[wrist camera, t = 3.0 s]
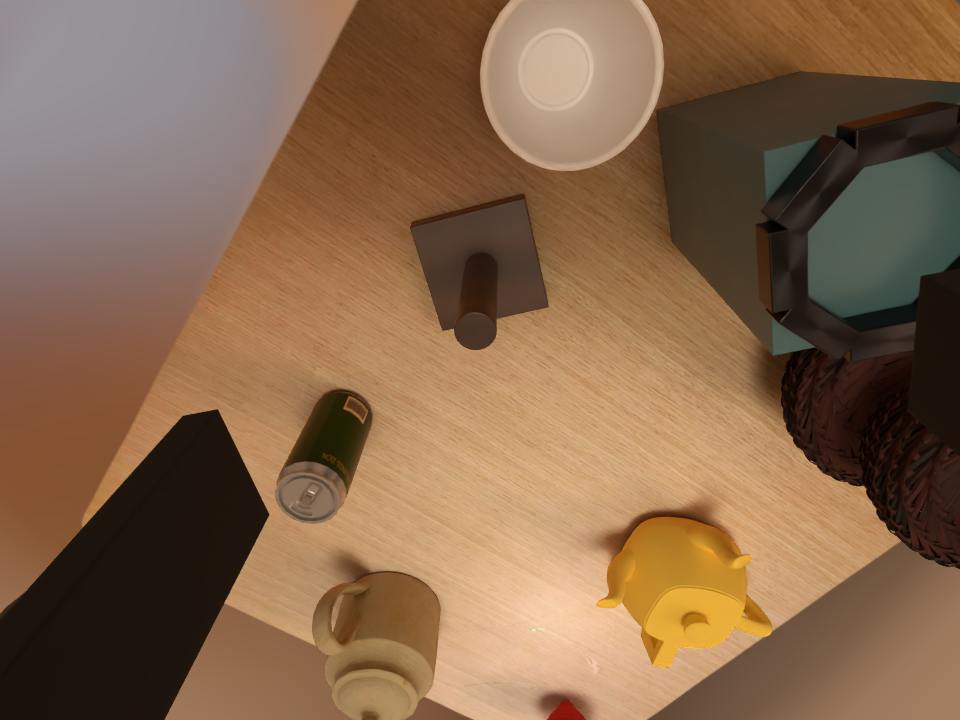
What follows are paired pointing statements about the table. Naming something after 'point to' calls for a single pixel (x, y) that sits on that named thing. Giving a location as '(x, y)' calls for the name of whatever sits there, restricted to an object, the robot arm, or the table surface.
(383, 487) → the table surface
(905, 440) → the vase
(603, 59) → the cup
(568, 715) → the strawberry
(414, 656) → the lidded mug
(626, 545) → the teapot
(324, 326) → the table surface
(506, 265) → the holder
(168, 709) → the robot arm
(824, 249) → the stand
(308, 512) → the beer can
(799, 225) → the ring
